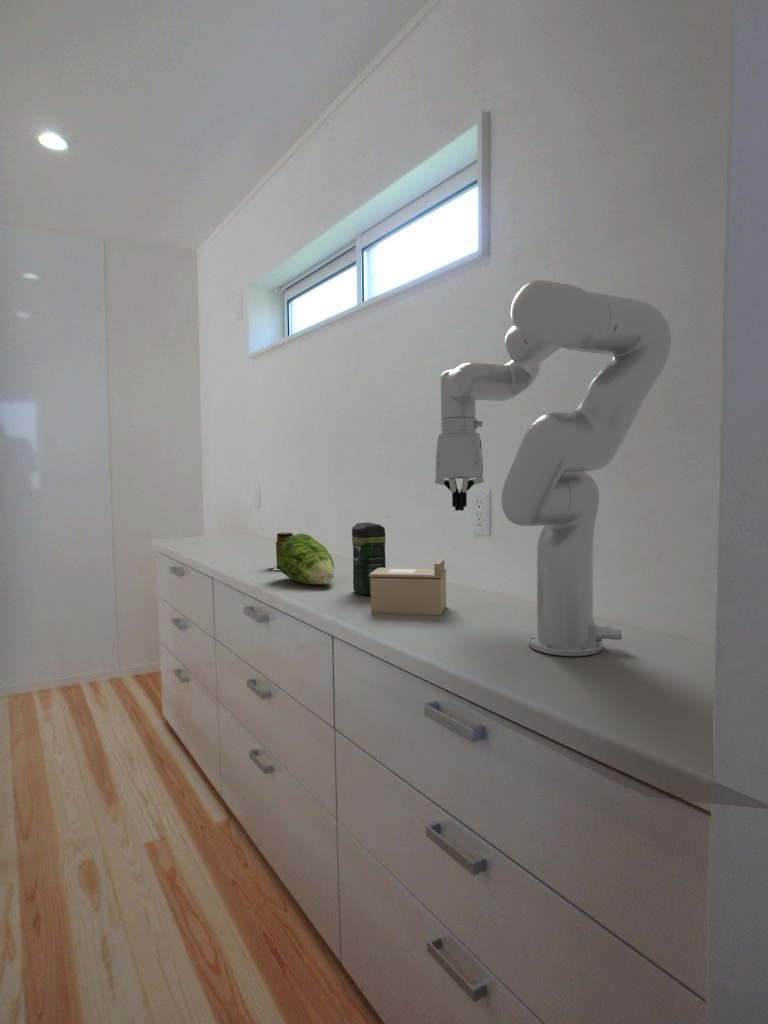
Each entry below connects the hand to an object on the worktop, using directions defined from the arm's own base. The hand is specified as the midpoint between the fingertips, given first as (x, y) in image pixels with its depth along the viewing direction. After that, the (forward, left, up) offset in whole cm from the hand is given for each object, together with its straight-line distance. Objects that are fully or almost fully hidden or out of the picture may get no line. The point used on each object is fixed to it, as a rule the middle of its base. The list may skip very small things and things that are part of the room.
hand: (459, 510), depth 131 cm
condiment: (+65, -50, -23) cm, 85 cm away
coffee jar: (+26, -17, -23) cm, 39 cm away
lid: (+12, 0, -15) cm, 19 cm away
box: (+12, 0, -23) cm, 26 cm away
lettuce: (+47, -28, -23) cm, 59 cm away
